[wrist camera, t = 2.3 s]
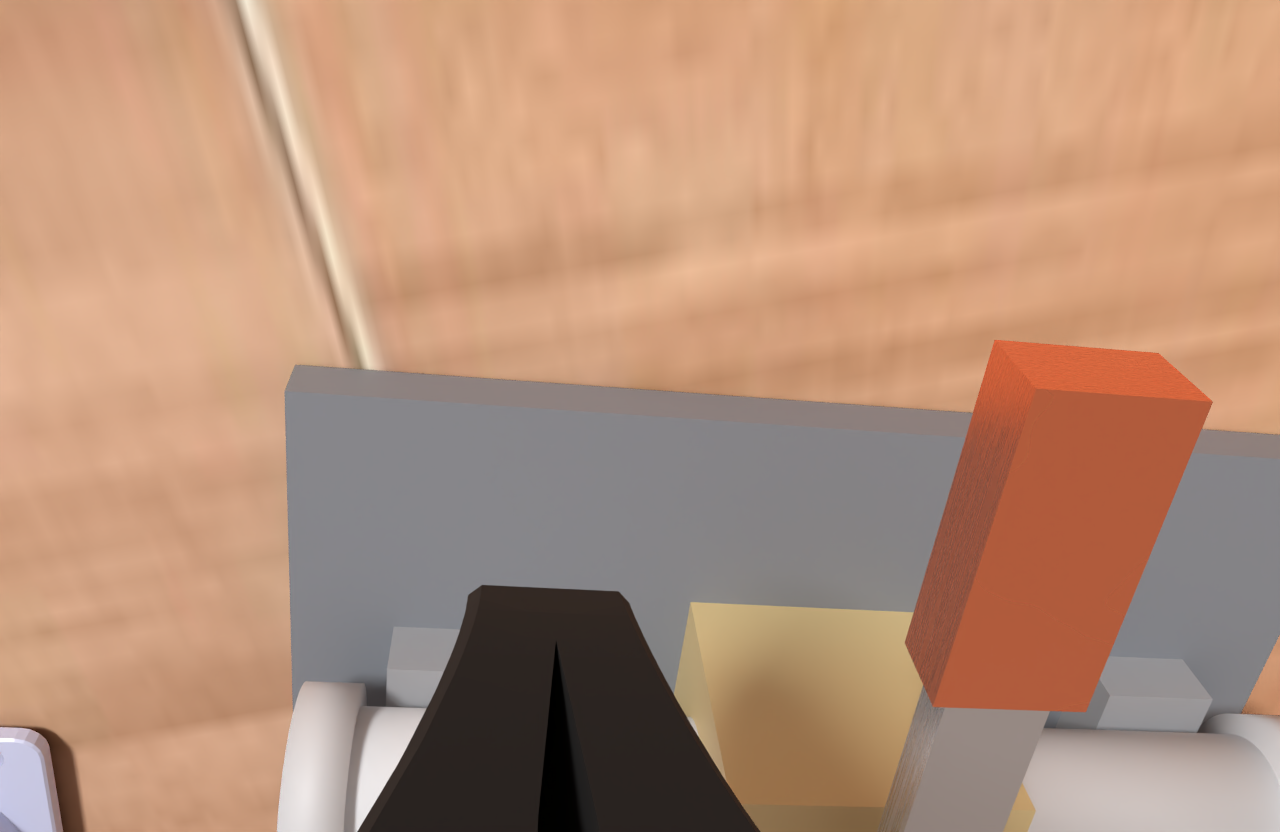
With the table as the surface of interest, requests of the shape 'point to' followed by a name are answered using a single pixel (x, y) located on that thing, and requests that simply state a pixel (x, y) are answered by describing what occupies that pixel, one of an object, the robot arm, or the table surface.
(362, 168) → the table surface
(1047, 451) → the valve lever
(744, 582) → the valve board
